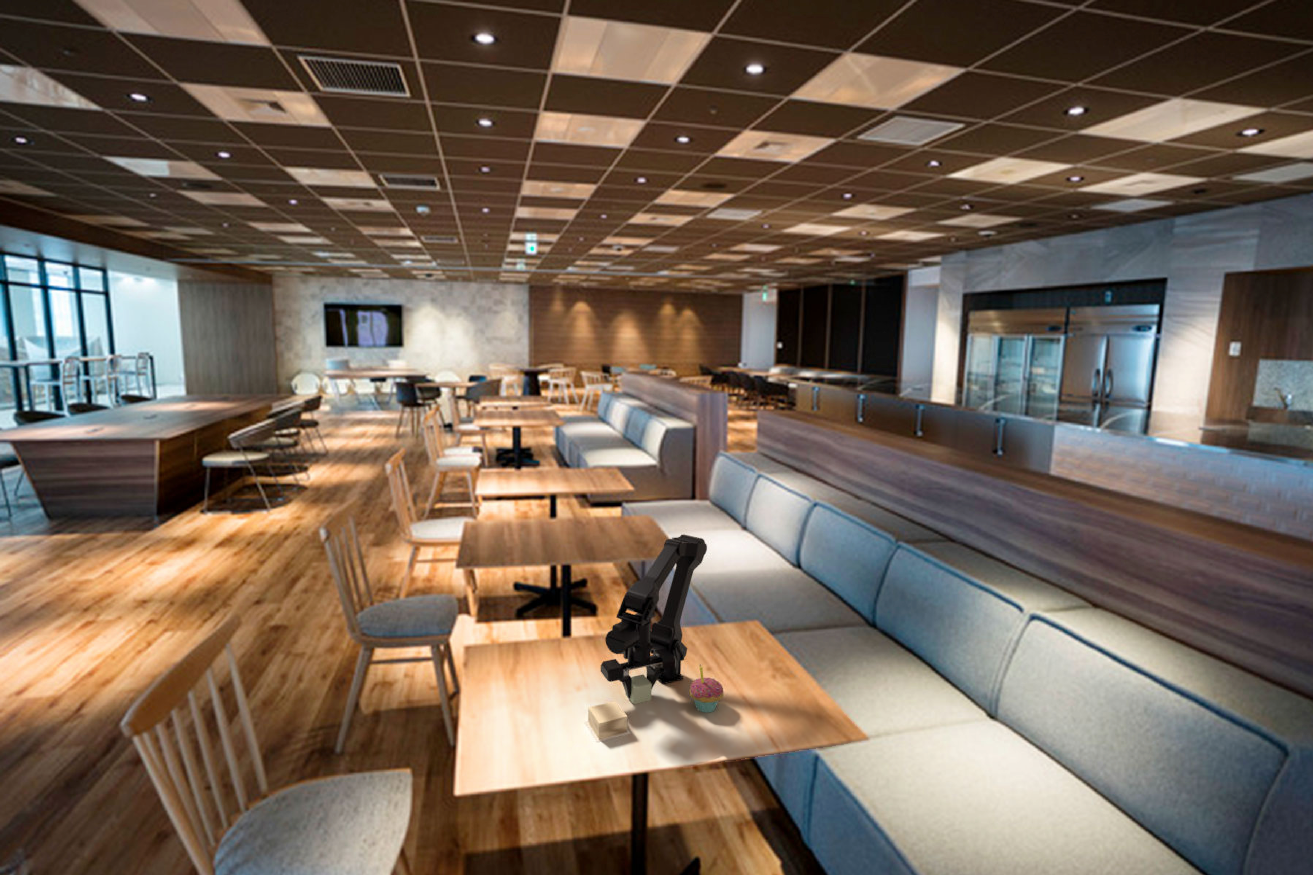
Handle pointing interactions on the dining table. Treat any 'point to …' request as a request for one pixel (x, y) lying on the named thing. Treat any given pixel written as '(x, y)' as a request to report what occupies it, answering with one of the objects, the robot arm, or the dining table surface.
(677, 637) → the robot arm
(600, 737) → the maple block
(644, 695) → the green cube
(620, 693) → the dining table surface
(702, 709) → the cupcake
